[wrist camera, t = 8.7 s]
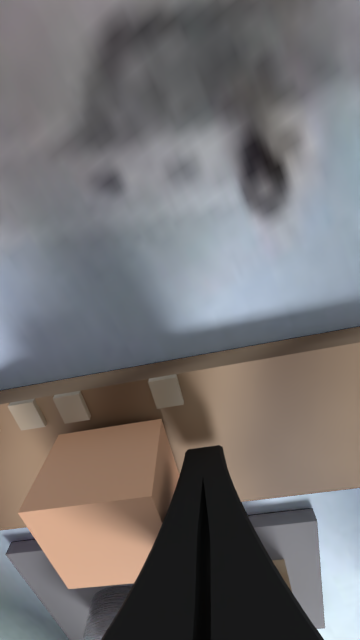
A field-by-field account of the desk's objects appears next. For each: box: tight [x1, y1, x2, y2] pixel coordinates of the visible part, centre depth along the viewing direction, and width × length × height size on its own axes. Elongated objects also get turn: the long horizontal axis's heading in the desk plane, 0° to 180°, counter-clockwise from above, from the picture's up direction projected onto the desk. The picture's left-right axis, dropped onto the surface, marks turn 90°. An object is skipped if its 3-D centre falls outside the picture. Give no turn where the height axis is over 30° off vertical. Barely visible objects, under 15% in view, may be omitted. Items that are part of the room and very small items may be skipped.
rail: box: [0, 327, 360, 530], centre depth 13 cm, size 19×7×1 cm, turn 103°
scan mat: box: [6, 509, 325, 640], centre depth 18 cm, size 16×10×1 cm, turn 103°
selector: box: [18, 419, 180, 589], centre depth 11 cm, size 4×4×3 cm
